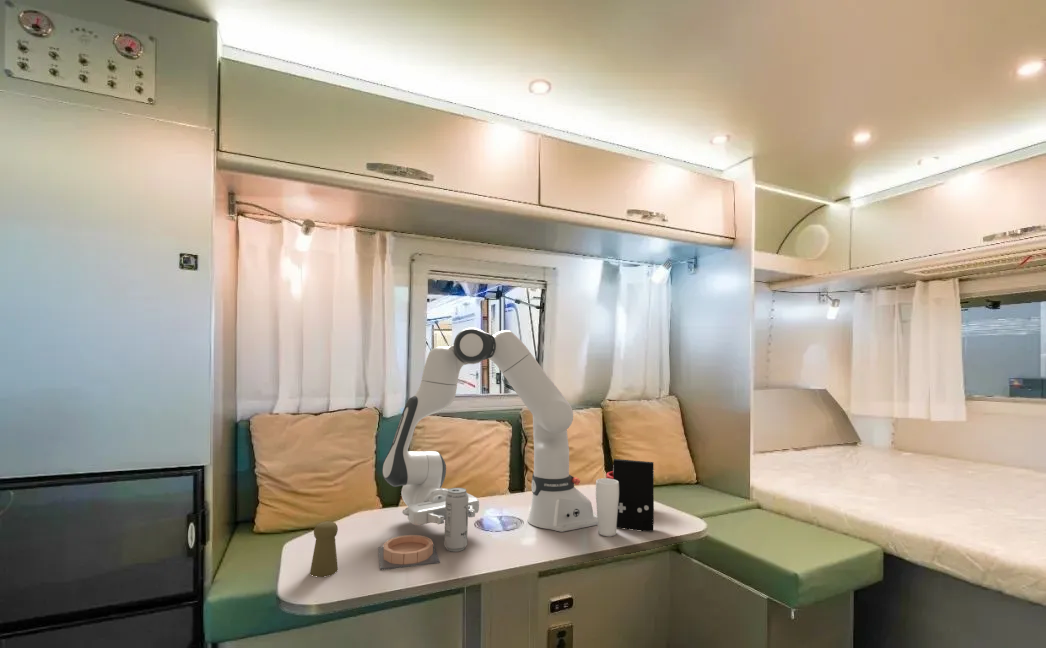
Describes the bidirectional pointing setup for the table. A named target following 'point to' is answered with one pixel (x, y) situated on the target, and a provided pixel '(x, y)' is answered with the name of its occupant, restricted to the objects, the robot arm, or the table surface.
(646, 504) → the handheld gaming console
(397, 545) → the dish
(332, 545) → the cork
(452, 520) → the energy drink can
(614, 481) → the drinking glass
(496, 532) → the table surface
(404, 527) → the table surface
